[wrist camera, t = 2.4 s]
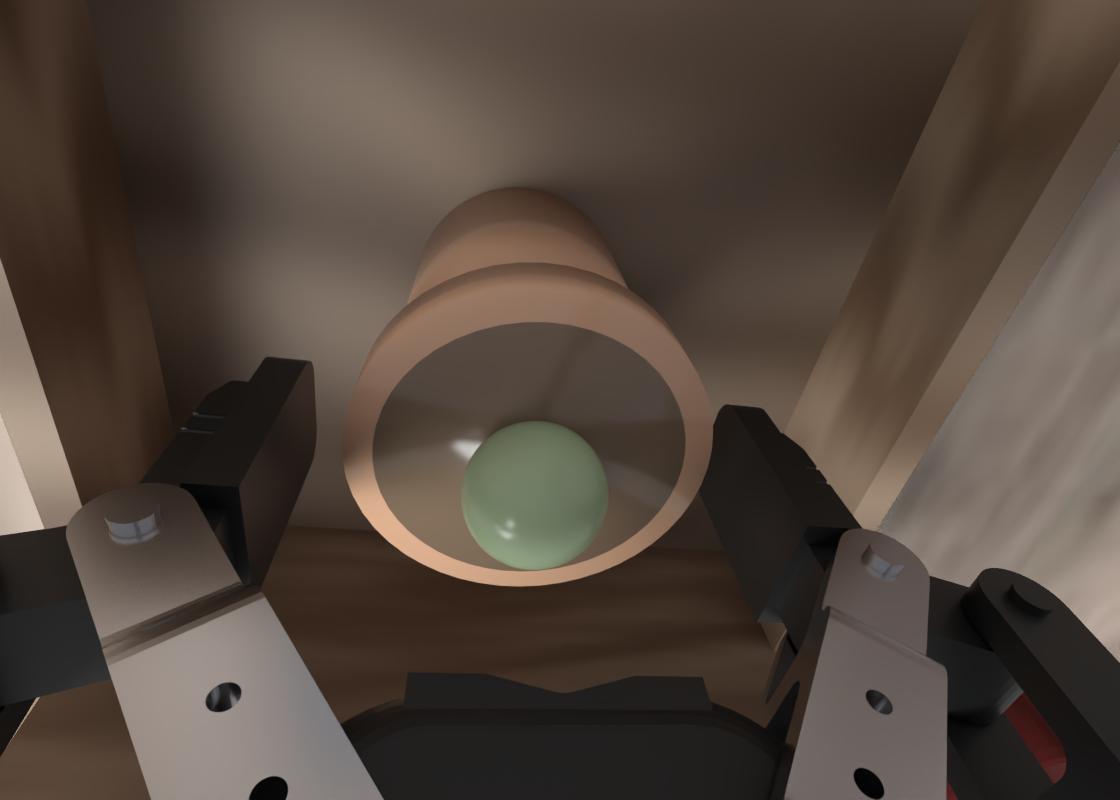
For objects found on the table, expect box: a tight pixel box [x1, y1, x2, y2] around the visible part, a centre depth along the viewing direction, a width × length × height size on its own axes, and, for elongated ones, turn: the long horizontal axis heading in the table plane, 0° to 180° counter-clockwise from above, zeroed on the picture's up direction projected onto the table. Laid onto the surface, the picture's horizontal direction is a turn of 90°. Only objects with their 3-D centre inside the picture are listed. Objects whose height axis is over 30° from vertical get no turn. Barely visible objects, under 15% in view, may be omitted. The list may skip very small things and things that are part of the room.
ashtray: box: [946, 692, 1066, 800], centre depth 34 cm, size 18×16×5 cm
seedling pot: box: [342, 188, 713, 586], centre depth 13 cm, size 6×6×10 cm
